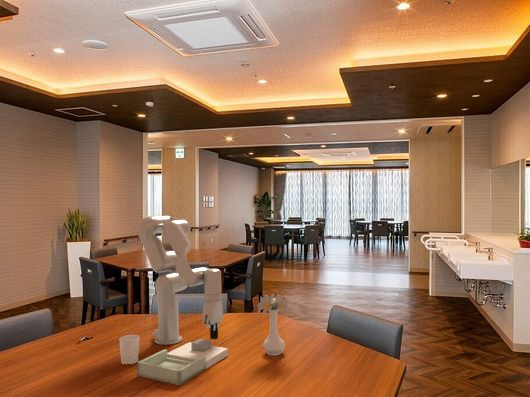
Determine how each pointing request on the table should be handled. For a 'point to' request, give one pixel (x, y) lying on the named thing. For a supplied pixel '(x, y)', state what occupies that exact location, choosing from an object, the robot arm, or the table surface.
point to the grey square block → (201, 345)
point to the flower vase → (273, 322)
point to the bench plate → (199, 354)
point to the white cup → (129, 349)
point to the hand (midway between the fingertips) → (214, 338)
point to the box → (169, 368)
